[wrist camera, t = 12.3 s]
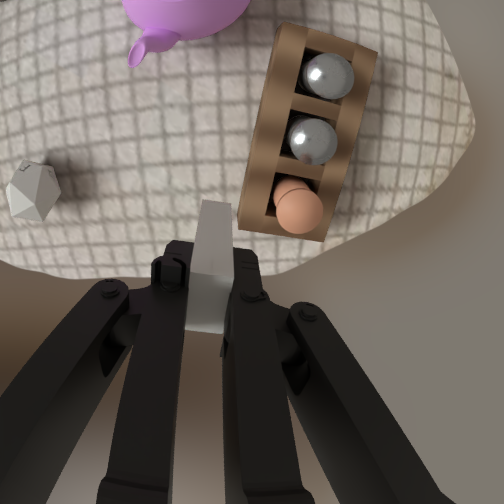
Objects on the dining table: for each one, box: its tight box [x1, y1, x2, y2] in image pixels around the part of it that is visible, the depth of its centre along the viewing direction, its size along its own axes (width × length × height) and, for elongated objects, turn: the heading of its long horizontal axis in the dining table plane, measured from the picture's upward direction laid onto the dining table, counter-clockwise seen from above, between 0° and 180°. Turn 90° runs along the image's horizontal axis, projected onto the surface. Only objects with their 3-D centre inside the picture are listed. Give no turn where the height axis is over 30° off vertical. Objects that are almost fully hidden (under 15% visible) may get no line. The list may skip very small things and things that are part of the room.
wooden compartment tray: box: [237, 22, 378, 242], centre depth 37 cm, size 27×12×5 cm, turn 169°
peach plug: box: [272, 175, 323, 234], centre depth 38 cm, size 5×5×7 cm
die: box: [6, 160, 61, 222], centre depth 36 cm, size 8×9×10 cm
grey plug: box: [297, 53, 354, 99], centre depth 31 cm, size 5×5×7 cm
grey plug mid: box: [284, 115, 337, 165], centre depth 35 cm, size 5×5×7 cm
